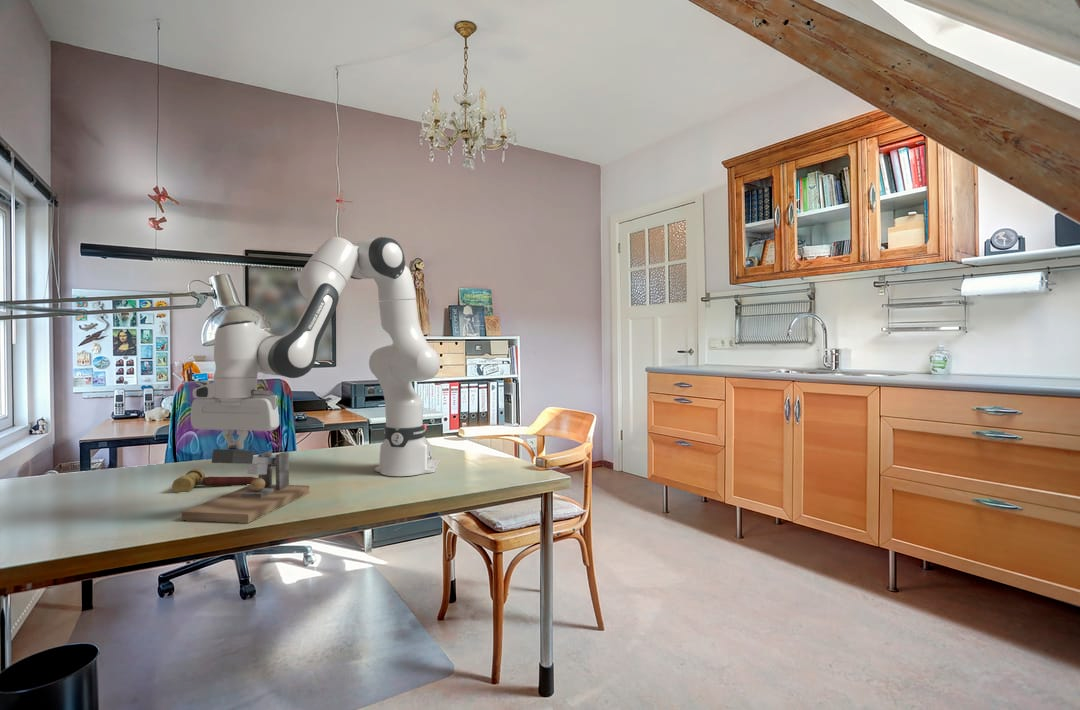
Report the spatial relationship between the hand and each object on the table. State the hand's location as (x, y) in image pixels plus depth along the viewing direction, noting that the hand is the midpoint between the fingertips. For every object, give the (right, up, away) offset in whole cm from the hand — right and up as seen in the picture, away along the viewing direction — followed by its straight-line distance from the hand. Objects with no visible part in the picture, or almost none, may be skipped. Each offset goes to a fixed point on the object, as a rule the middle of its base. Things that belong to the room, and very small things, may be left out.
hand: (235, 449), depth 123 cm
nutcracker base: (+1, -15, +5) cm, 16 cm away
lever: (+1, -7, +5) cm, 8 cm away
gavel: (-17, -15, +24) cm, 33 cm away
